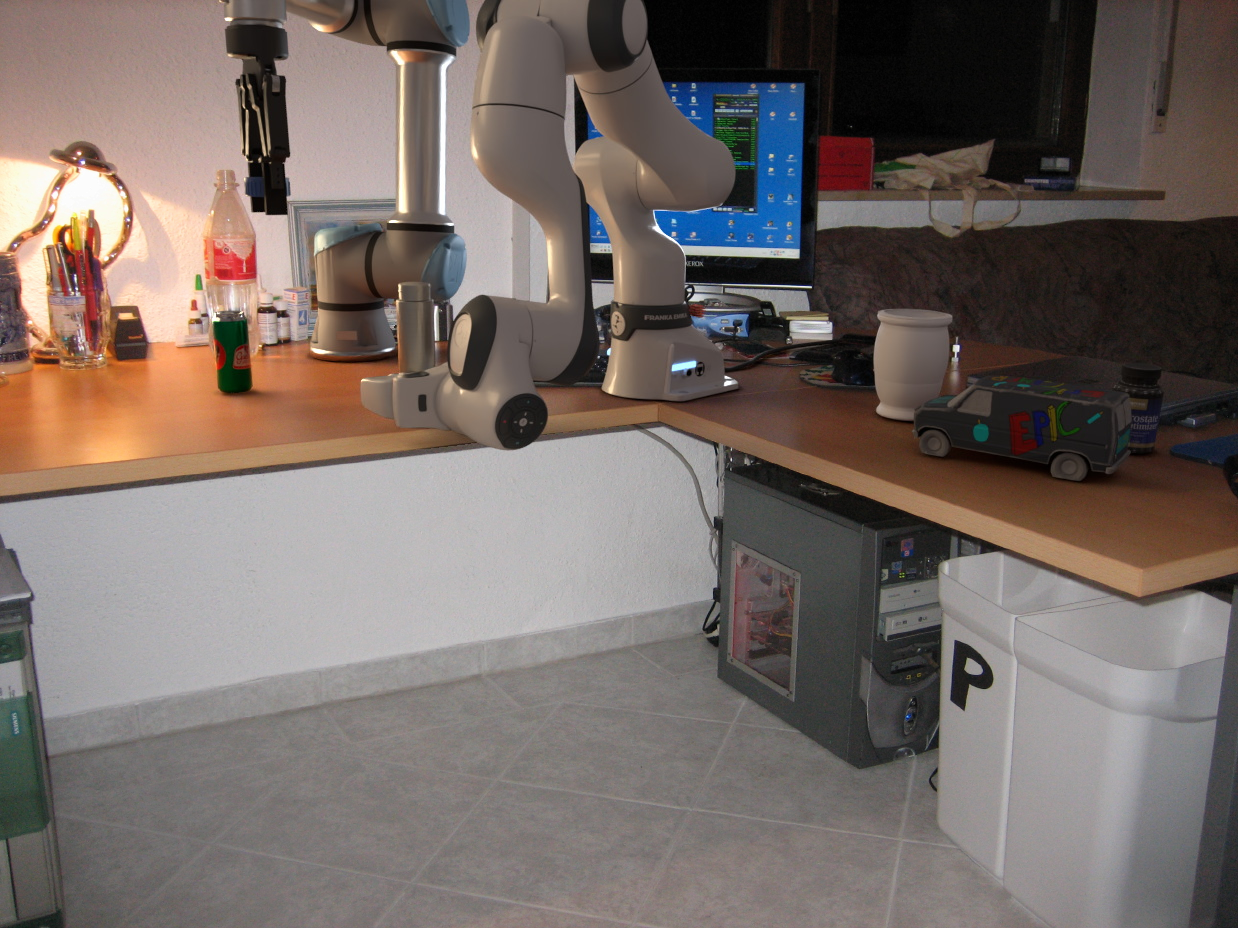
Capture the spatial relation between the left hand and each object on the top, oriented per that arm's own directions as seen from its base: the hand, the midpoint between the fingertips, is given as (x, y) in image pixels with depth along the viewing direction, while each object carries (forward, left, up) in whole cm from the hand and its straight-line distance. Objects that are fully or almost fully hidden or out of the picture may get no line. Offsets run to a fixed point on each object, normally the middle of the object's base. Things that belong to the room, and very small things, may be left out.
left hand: (269, 213), depth 142 cm
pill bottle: (-19, +113, -28) cm, 118 cm away
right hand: (-4, +18, -22) cm, 29 cm away
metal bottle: (-3, +19, -28) cm, 34 cm away
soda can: (-11, -15, -28) cm, 34 cm away
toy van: (-8, +98, -28) cm, 102 cm away
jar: (-28, +85, -28) cm, 93 cm away
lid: (0, 0, +4) cm, 4 cm away
